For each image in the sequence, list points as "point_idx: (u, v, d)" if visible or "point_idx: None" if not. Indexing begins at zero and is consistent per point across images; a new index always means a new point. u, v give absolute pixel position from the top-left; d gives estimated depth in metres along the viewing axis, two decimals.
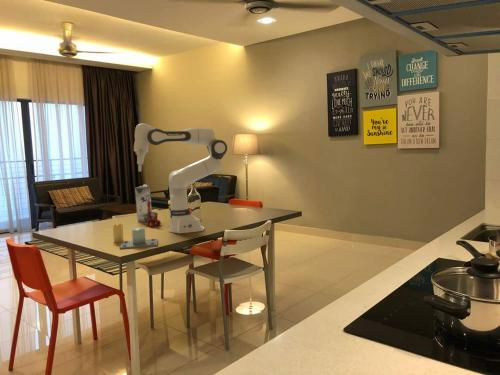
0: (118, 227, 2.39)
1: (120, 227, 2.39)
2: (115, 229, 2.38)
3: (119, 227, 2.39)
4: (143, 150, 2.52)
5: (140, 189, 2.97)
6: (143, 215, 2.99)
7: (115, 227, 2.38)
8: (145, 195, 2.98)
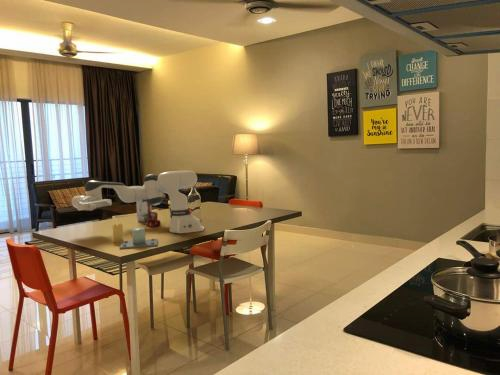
0: (118, 227, 2.38)
1: (120, 227, 2.39)
2: (115, 229, 2.38)
3: (119, 227, 2.39)
4: None
5: None
6: (143, 215, 2.99)
7: (115, 227, 2.38)
8: None
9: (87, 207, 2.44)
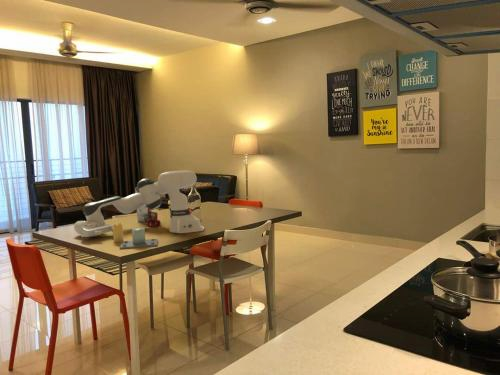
0: (118, 227, 2.38)
1: (120, 227, 2.39)
2: (115, 229, 2.38)
3: (119, 227, 2.39)
4: None
5: None
6: (143, 215, 2.99)
7: (115, 227, 2.38)
8: None
9: (92, 234, 2.43)
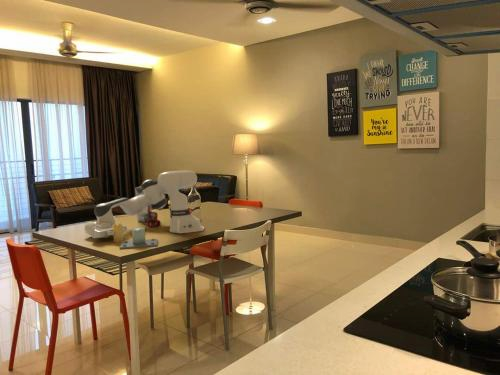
0: (118, 227, 2.39)
1: (120, 227, 2.39)
2: (115, 229, 2.38)
3: (119, 227, 2.39)
4: None
5: (140, 189, 2.97)
6: (143, 215, 2.99)
7: (115, 227, 2.38)
8: None
9: (103, 235, 2.37)
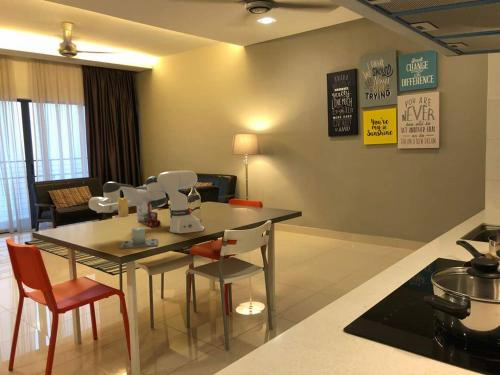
0: (123, 201, 2.32)
1: (125, 201, 2.33)
2: (120, 203, 2.32)
3: (124, 201, 2.32)
4: None
5: None
6: (143, 215, 2.99)
7: (120, 201, 2.32)
8: None
9: (107, 209, 2.31)
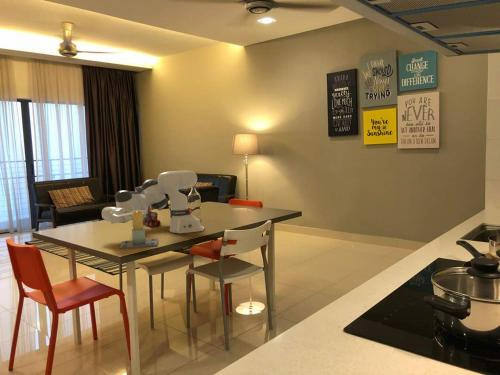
0: (138, 214, 2.28)
1: (140, 214, 2.28)
2: (135, 216, 2.27)
3: (139, 214, 2.28)
4: None
5: (140, 189, 2.97)
6: None
7: (135, 214, 2.27)
8: None
9: (122, 220, 2.26)
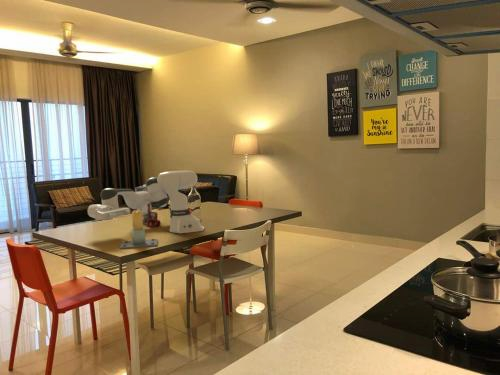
0: (138, 214, 2.28)
1: (140, 214, 2.28)
2: (135, 216, 2.27)
3: (139, 214, 2.28)
4: None
5: (140, 189, 2.97)
6: (143, 215, 2.99)
7: (135, 214, 2.27)
8: None
9: (106, 216, 2.34)
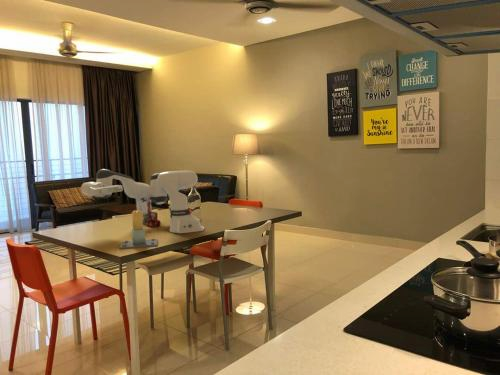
0: (138, 214, 2.28)
1: (140, 214, 2.28)
2: (135, 216, 2.27)
3: (139, 214, 2.28)
4: None
5: None
6: (143, 215, 2.99)
7: (135, 214, 2.27)
8: None
9: (99, 192, 2.39)
